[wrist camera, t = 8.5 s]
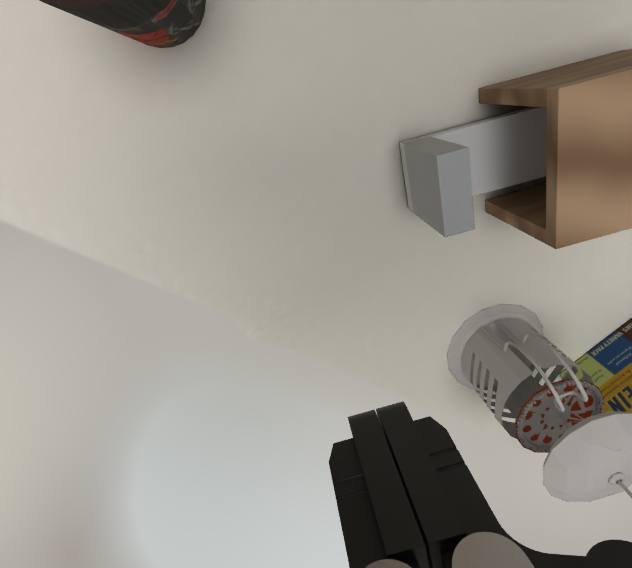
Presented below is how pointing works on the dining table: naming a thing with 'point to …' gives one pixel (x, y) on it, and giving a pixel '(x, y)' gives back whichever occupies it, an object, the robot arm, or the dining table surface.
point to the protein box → (611, 369)
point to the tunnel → (575, 151)
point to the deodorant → (141, 18)
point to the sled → (472, 165)
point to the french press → (545, 403)
